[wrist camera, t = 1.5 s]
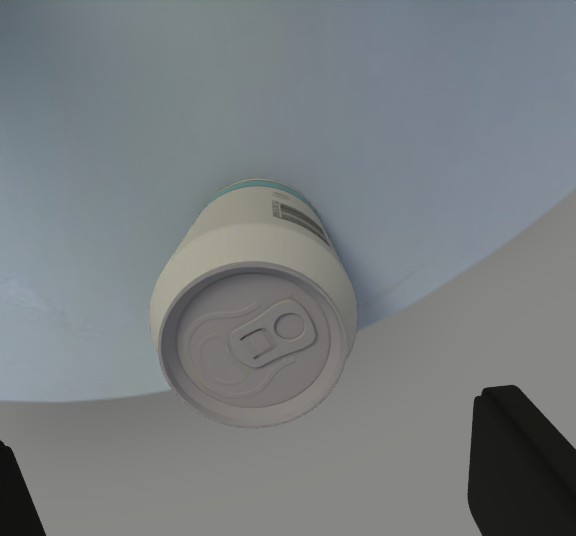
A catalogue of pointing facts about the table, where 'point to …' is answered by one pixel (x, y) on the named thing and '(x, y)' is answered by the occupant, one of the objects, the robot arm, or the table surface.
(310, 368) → the beverage can
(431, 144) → the table surface
